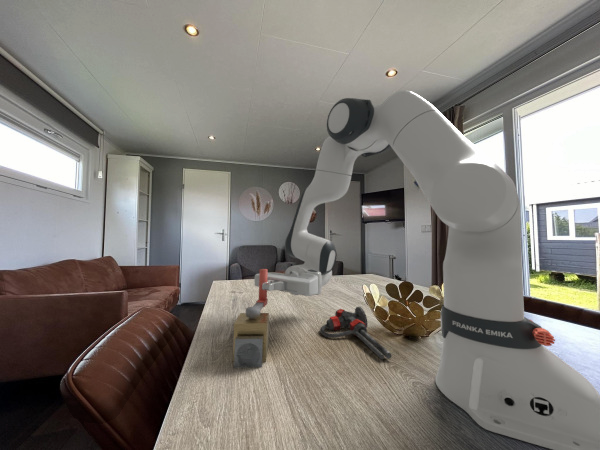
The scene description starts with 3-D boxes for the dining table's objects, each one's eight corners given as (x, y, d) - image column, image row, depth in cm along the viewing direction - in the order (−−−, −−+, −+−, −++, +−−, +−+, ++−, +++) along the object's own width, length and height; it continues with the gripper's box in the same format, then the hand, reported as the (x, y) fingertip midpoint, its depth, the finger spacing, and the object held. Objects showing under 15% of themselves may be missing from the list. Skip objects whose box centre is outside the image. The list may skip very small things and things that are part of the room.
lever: (257, 317, 50) (259, 275, 51) (243, 317, 51) (245, 275, 51) (269, 303, 62) (270, 269, 63) (257, 302, 62) (258, 268, 63)
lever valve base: (265, 367, 46) (266, 324, 47) (230, 367, 46) (232, 325, 46) (268, 342, 57) (269, 308, 58) (240, 343, 57) (241, 308, 57)
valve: (312, 328, 73) (354, 318, 76) (347, 382, 47) (408, 363, 51) (309, 309, 73) (352, 300, 76) (343, 352, 47) (405, 335, 51)
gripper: (273, 266, 76) (240, 271, 65) (326, 272, 64) (296, 279, 53) (272, 285, 76) (239, 293, 65) (325, 295, 64) (296, 306, 53)
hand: (265, 287), depth 59 cm, fingers closed
